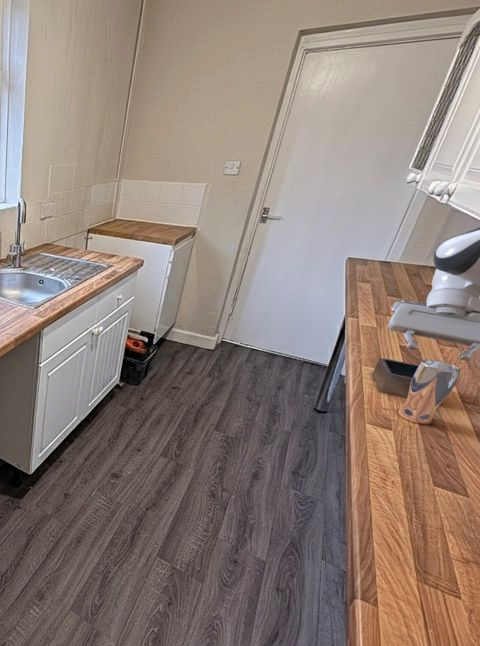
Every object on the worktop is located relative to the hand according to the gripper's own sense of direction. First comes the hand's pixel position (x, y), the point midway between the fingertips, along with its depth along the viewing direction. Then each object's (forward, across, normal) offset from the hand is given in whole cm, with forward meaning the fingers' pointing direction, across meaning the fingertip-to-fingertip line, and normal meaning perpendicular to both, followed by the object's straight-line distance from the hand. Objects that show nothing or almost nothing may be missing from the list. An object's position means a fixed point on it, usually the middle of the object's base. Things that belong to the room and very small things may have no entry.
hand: (437, 353), depth 105 cm
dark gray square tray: (+4, -1, +17) cm, 18 cm away
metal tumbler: (+17, 0, +5) cm, 17 cm away
